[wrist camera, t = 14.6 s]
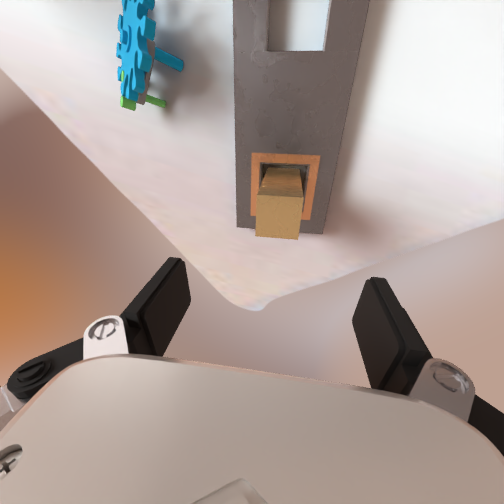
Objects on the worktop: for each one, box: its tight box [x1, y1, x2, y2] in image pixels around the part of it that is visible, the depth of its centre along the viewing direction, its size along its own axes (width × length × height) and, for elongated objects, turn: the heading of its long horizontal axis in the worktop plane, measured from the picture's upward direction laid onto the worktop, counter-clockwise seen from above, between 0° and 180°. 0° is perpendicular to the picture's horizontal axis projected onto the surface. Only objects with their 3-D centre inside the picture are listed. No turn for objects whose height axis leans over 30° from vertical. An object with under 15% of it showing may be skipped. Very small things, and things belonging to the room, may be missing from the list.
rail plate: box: [233, 0, 370, 234], centre depth 25 cm, size 28×12×2 cm, turn 179°
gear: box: [116, 0, 183, 111], centre depth 24 cm, size 11×6×10 cm
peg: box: [255, 167, 304, 240], centre depth 25 cm, size 4×4×12 cm
